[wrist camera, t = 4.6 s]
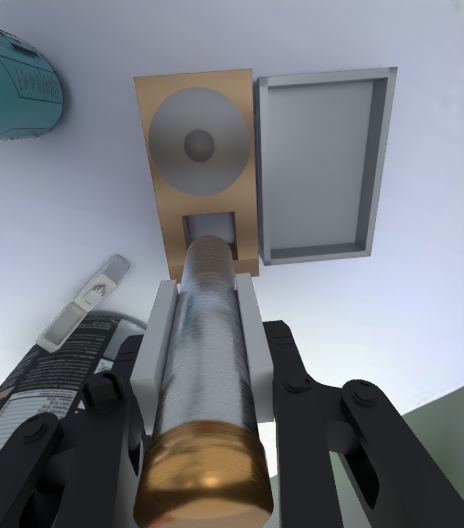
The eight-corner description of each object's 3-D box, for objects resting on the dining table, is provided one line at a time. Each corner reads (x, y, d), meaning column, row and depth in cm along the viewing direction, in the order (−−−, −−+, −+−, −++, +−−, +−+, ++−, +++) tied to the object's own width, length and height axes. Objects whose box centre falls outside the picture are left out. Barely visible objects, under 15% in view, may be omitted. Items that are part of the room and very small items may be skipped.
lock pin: (181, 236, 20) (117, 480, 6) (231, 231, 20) (273, 463, 6) (188, 279, 22) (148, 553, 8) (234, 275, 22) (274, 538, 8)
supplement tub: (149, 420, 40) (60, 838, 16) (27, 389, 36) (-312, 868, 13) (194, 334, 34) (155, 784, 11) (54, 286, 31) (-465, 813, 7)
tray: (254, 82, 24) (259, 77, 21) (378, 73, 24) (397, 66, 22) (260, 254, 30) (264, 265, 28) (357, 245, 31) (370, 256, 28)
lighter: (116, 253, 29) (85, 295, 22) (130, 265, 30) (104, 309, 23) (72, 295, 31) (30, 346, 24) (86, 305, 32) (48, 358, 24)
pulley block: (145, 84, 23) (123, 70, 17) (245, 77, 24) (256, 60, 18) (176, 265, 30) (167, 299, 24) (253, 258, 30) (263, 290, 24)
